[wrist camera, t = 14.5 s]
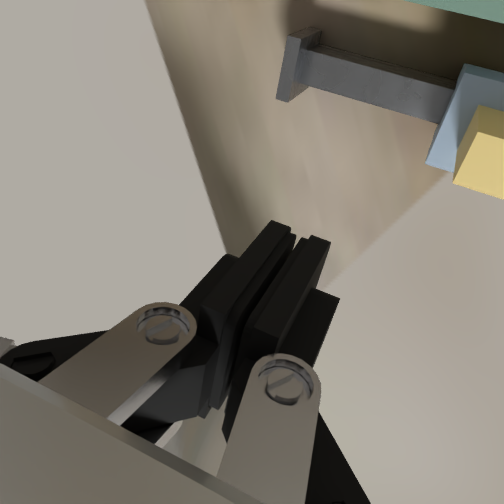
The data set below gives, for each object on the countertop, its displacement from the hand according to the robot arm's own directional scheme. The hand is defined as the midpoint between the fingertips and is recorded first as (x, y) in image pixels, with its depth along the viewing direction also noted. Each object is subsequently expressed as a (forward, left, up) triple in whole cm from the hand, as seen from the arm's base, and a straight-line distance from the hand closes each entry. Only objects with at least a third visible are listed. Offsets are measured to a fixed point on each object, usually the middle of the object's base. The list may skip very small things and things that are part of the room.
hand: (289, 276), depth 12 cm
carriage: (-1, -6, -28) cm, 28 cm away
